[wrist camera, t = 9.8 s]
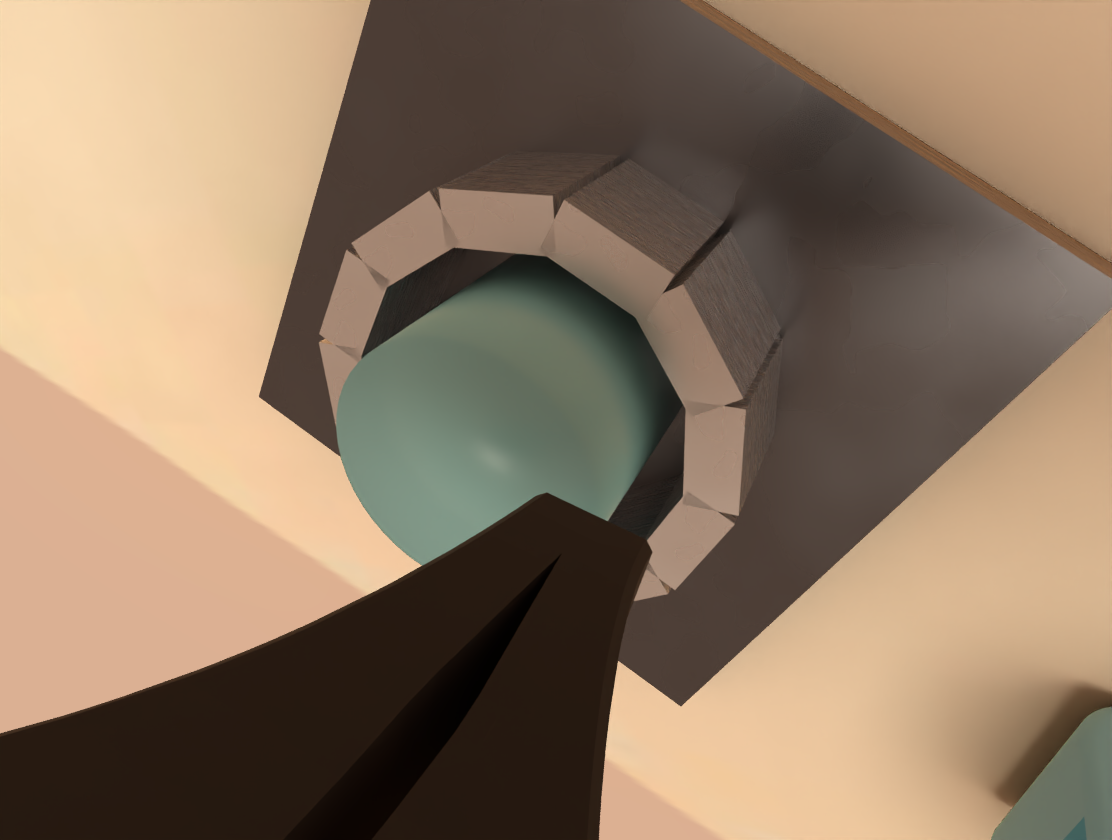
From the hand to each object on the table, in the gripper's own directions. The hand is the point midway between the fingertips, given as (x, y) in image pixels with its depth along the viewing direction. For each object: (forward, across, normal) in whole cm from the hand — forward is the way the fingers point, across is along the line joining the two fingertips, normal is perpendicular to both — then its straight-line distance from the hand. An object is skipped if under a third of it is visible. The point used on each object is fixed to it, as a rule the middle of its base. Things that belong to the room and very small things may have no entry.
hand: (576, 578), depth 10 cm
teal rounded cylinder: (+8, +3, +2) cm, 9 cm away
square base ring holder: (+9, +3, +2) cm, 10 cm away
